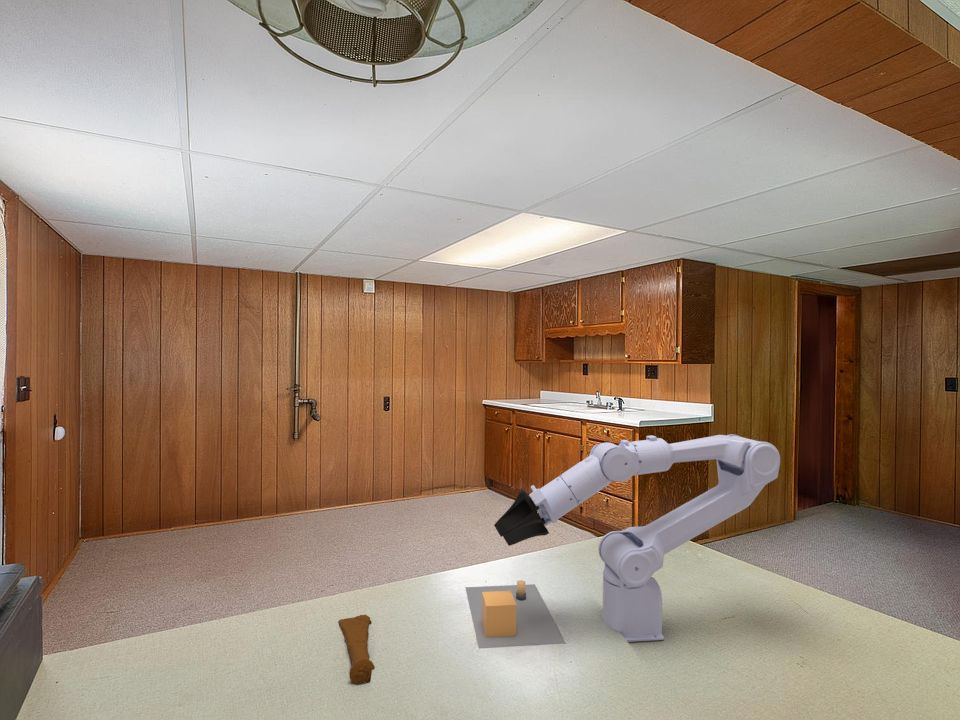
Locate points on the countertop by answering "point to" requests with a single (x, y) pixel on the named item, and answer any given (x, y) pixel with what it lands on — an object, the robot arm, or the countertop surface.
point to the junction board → (517, 617)
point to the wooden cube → (498, 613)
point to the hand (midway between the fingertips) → (501, 535)
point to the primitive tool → (358, 647)
